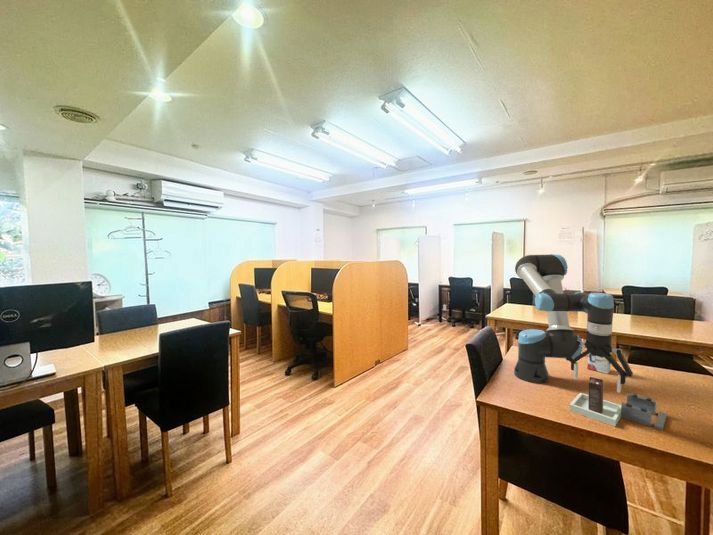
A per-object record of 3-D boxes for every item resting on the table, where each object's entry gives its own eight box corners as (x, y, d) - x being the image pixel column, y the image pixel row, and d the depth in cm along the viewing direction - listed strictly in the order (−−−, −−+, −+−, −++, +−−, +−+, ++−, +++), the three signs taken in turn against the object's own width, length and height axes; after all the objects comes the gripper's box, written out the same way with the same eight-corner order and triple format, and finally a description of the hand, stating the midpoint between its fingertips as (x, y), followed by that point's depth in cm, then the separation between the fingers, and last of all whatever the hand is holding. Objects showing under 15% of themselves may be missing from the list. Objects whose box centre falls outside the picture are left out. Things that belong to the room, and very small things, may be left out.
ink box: (586, 368, 153) (587, 347, 152) (589, 366, 156) (590, 345, 155) (608, 374, 146) (608, 351, 145) (610, 371, 149) (611, 349, 148)
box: (588, 404, 119) (589, 376, 118) (603, 408, 115) (604, 379, 115) (587, 410, 114) (588, 381, 113) (601, 415, 111) (603, 385, 110)
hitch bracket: (620, 416, 111) (621, 402, 110) (627, 404, 119) (628, 391, 118) (662, 430, 102) (663, 415, 102) (666, 416, 110) (667, 402, 110)
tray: (569, 410, 116) (569, 404, 116) (579, 398, 125) (580, 392, 124) (615, 426, 105) (615, 420, 105) (623, 412, 114) (623, 406, 113)
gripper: (558, 327, 120) (556, 376, 122) (641, 343, 100) (637, 401, 102) (564, 324, 124) (562, 370, 127) (645, 338, 105) (641, 393, 107)
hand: (596, 384), depth 114 cm, fingers open, 13 cm apart
